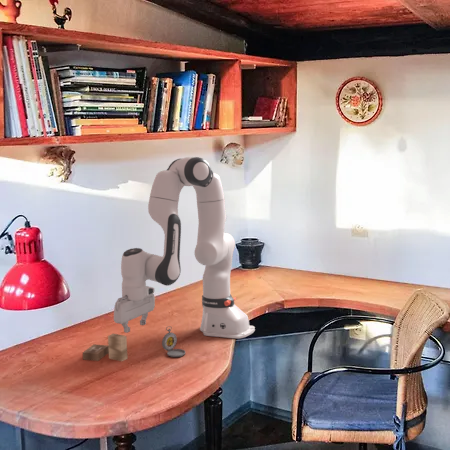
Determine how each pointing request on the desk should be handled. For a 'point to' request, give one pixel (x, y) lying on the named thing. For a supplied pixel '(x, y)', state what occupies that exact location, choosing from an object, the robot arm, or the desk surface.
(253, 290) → the desk surface
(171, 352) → the pocket watch
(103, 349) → the wooden letter h block
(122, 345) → the wooden letter t block
